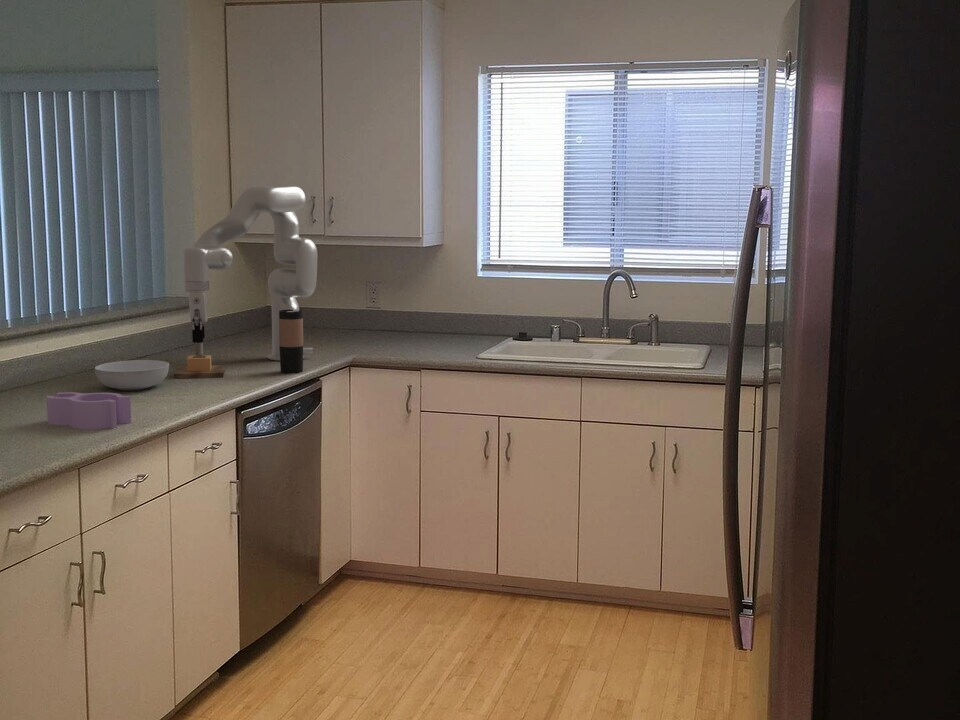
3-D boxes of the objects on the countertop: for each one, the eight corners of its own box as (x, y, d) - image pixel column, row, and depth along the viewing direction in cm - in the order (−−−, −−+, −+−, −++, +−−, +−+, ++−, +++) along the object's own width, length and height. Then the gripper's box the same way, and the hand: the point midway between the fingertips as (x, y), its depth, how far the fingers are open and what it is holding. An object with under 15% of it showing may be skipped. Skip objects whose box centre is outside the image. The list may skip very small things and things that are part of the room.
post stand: (224, 369, 345) (223, 334, 343) (223, 377, 330) (222, 341, 329) (177, 370, 342) (175, 335, 340) (173, 378, 327) (172, 341, 326)
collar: (211, 367, 340) (211, 355, 339) (210, 370, 333) (209, 358, 333) (189, 367, 339) (188, 355, 338) (187, 371, 332) (186, 358, 331)
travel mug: (283, 374, 337) (282, 312, 334) (276, 370, 344) (275, 310, 341) (306, 372, 340) (305, 311, 337) (299, 369, 347) (298, 309, 344)
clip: (37, 426, 259) (35, 399, 258) (68, 416, 271) (66, 390, 270) (109, 431, 254) (108, 403, 253) (137, 421, 266) (136, 394, 265)
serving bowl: (111, 381, 322) (110, 359, 321) (179, 382, 321) (178, 360, 320) (83, 393, 301) (82, 370, 300) (156, 395, 301) (155, 371, 300)
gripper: (208, 289, 324) (209, 344, 327) (210, 284, 341) (212, 336, 344) (182, 289, 323) (184, 344, 325) (186, 284, 340) (188, 337, 342)
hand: (198, 340), depth 335 cm, fingers open, 9 cm apart
